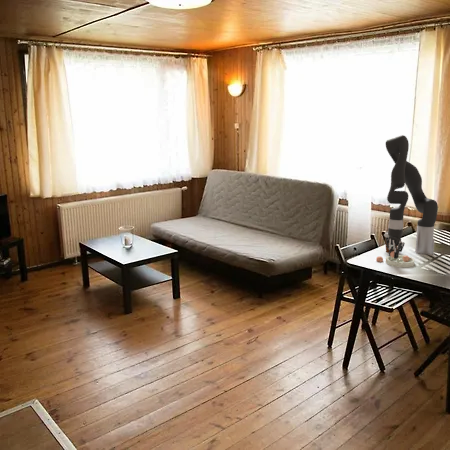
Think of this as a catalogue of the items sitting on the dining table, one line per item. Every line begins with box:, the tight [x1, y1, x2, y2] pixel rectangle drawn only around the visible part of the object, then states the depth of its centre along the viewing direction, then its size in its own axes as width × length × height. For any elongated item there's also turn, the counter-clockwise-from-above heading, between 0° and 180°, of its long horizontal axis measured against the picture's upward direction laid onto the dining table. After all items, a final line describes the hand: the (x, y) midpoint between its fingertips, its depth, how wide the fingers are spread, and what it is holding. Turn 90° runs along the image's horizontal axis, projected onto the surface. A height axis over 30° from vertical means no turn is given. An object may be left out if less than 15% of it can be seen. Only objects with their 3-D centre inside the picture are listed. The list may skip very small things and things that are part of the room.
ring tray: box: [385, 254, 415, 268], centre depth 261 cm, size 15×15×3 cm
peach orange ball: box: [375, 256, 384, 263], centre depth 265 cm, size 4×4×4 cm
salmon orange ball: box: [403, 255, 410, 262], centre depth 262 cm, size 4×4×4 cm
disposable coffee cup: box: [383, 231, 397, 253], centre depth 282 cm, size 10×10×12 cm
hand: (393, 257), depth 259 cm, fingers closed on bead, 3 cm apart
